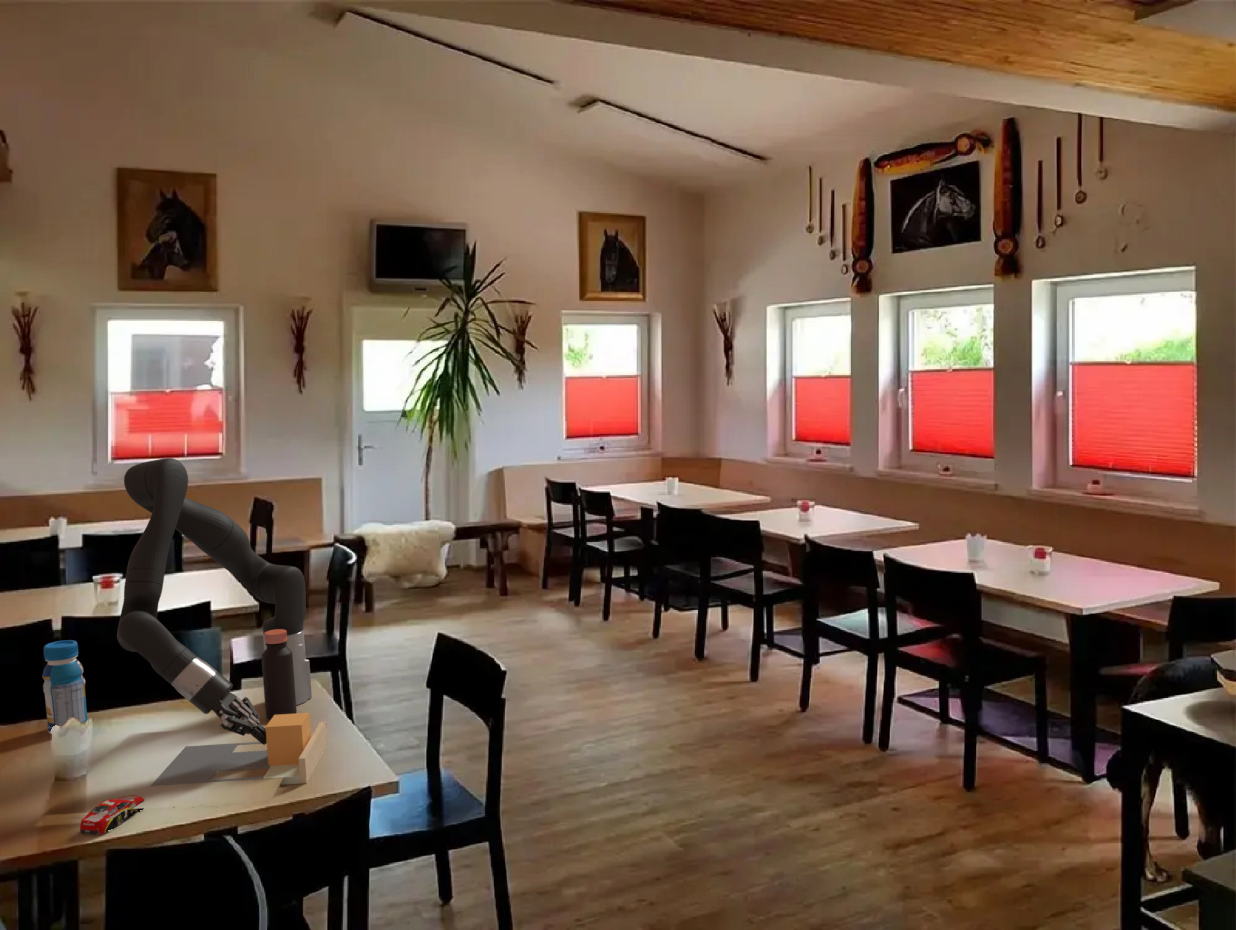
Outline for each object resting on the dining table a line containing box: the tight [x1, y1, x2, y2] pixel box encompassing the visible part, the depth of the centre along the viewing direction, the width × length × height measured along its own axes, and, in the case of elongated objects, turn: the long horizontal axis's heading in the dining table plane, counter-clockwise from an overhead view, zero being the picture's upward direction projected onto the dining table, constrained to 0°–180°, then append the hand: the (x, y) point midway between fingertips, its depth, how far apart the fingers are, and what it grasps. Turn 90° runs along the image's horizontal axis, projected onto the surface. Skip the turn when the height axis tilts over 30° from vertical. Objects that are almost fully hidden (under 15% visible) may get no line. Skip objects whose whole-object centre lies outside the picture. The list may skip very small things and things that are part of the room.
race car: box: [79, 794, 145, 836], centre depth 184 cm, size 13×5×4 cm, turn 167°
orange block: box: [265, 712, 312, 766], centre depth 206 cm, size 7×7×8 cm
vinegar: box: [261, 629, 298, 721], centre depth 235 cm, size 7×7×20 cm
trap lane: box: [150, 721, 328, 787], centre depth 206 cm, size 29×20×5 cm
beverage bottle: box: [41, 639, 89, 734], centre depth 231 cm, size 8×8×20 cm
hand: (268, 740), depth 206 cm, fingers closed
